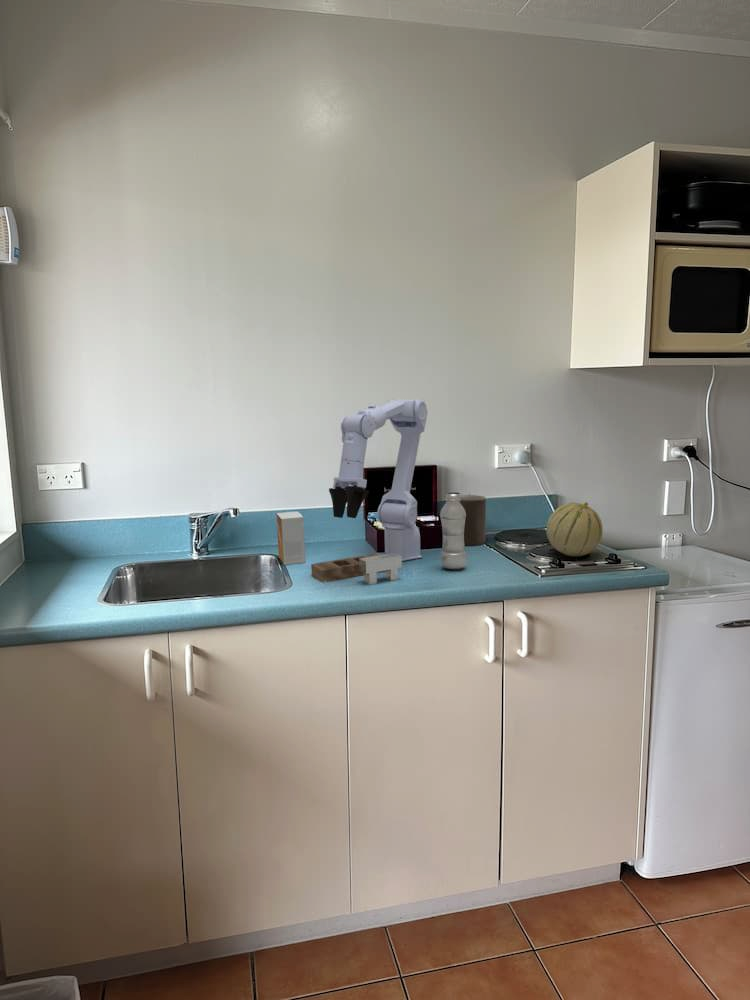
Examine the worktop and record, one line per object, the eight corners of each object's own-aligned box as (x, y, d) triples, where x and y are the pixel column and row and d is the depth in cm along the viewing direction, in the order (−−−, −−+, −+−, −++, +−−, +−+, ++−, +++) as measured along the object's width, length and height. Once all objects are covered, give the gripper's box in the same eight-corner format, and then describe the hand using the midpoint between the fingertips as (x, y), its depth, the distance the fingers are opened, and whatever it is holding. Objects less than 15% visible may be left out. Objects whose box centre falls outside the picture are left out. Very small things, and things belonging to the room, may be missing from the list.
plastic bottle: (465, 572, 180) (465, 495, 176) (439, 571, 181) (438, 495, 177) (467, 565, 186) (467, 491, 182) (442, 564, 187) (441, 490, 184)
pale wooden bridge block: (395, 575, 179) (394, 552, 178) (402, 579, 176) (401, 555, 174) (359, 581, 174) (359, 558, 173) (366, 585, 171) (365, 561, 170)
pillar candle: (470, 547, 204) (471, 497, 202) (446, 542, 211) (446, 492, 209) (492, 542, 210) (493, 493, 208) (467, 536, 218) (468, 489, 215)
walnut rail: (380, 563, 190) (379, 553, 189) (392, 569, 184) (392, 558, 183) (311, 575, 181) (311, 564, 180) (322, 582, 175) (322, 570, 174)
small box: (278, 558, 198) (275, 512, 196) (300, 555, 200) (298, 510, 198) (283, 565, 191) (280, 518, 188) (306, 562, 193) (304, 516, 190)
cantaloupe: (541, 548, 201) (542, 497, 198) (593, 548, 200) (595, 496, 198) (552, 563, 186) (553, 507, 184) (608, 562, 186) (610, 506, 183)
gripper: (325, 461, 176) (317, 514, 175) (350, 457, 164) (342, 515, 162) (350, 466, 180) (343, 518, 178) (377, 463, 167) (369, 519, 166)
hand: (344, 517), depth 171 cm, fingers open, 7 cm apart
